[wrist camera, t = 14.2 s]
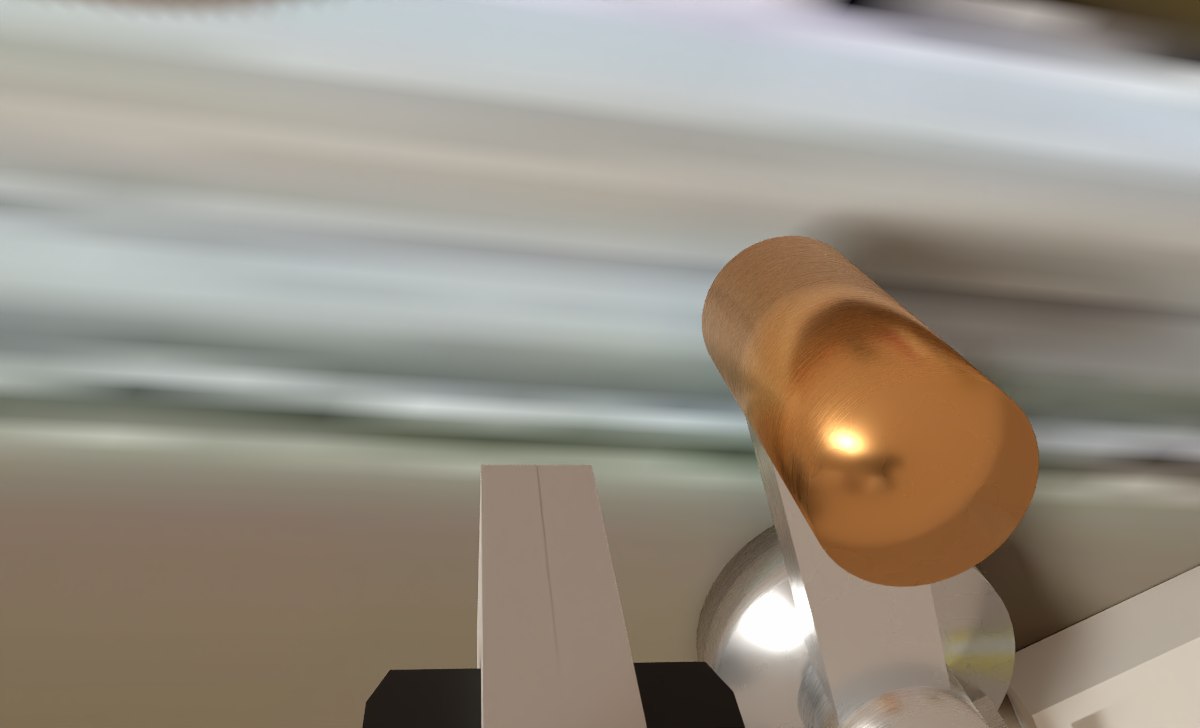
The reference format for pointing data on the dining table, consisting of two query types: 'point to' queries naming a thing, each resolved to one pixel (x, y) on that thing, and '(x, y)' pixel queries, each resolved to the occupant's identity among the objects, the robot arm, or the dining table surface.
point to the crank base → (778, 650)
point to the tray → (1118, 665)
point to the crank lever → (867, 473)
